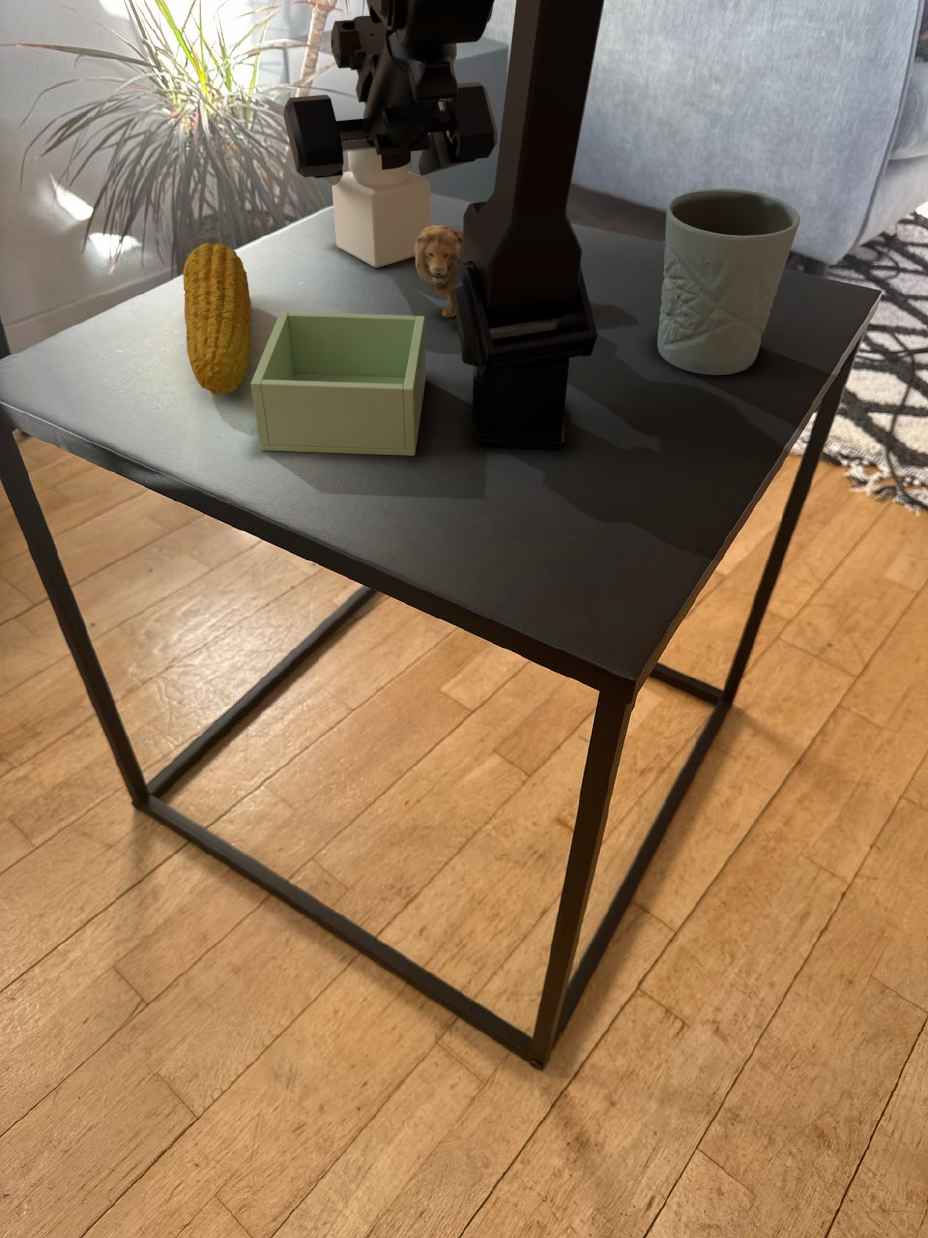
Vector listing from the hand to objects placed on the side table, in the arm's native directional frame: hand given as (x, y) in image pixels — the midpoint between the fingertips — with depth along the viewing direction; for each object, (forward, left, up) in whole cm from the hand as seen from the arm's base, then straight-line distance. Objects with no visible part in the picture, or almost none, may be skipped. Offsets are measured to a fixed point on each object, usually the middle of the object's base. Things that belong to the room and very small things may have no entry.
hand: (376, 175), depth 93 cm
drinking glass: (-30, +21, -7) cm, 38 cm away
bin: (-1, +33, -7) cm, 34 cm away
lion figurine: (-11, +16, -7) cm, 21 cm away
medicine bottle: (0, +1, -7) cm, 7 cm away
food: (+11, +23, -7) cm, 27 cm away
